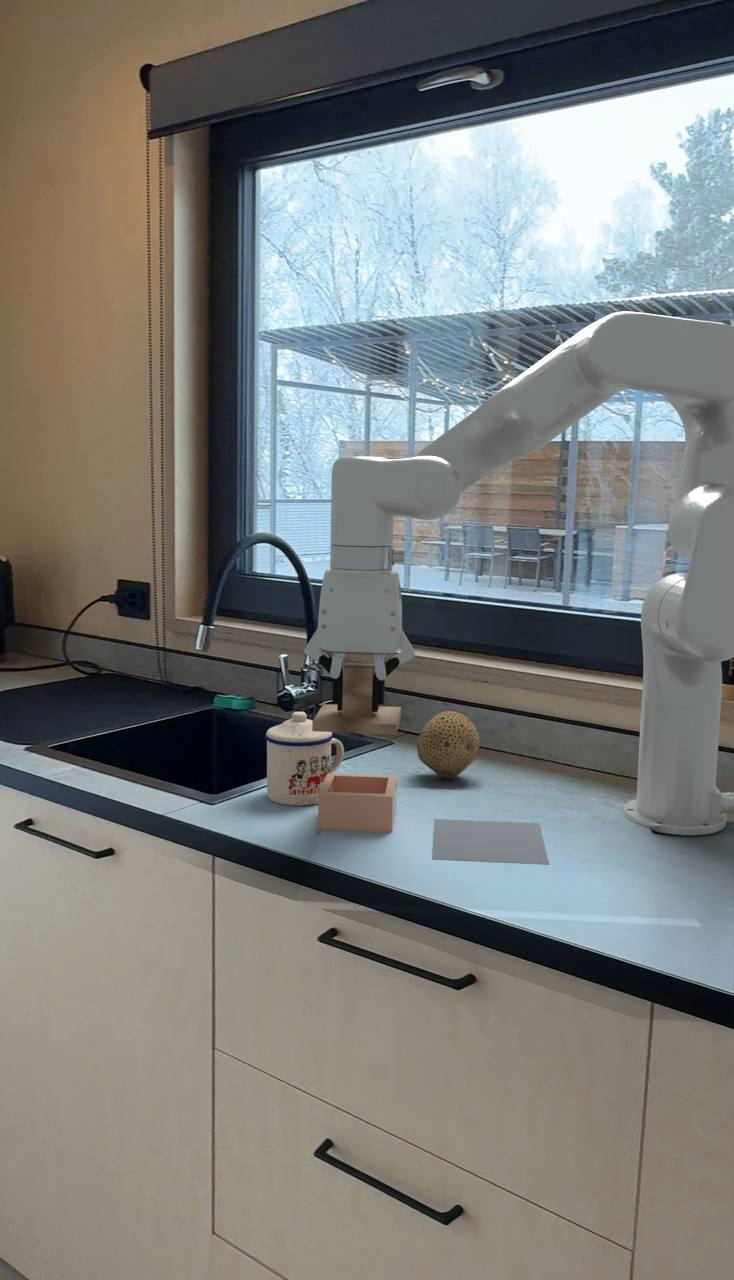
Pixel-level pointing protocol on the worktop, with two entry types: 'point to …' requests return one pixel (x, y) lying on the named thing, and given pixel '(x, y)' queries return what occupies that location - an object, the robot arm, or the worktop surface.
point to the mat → (488, 841)
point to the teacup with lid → (299, 761)
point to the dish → (357, 802)
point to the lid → (357, 706)
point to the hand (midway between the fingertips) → (358, 707)
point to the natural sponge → (448, 744)
